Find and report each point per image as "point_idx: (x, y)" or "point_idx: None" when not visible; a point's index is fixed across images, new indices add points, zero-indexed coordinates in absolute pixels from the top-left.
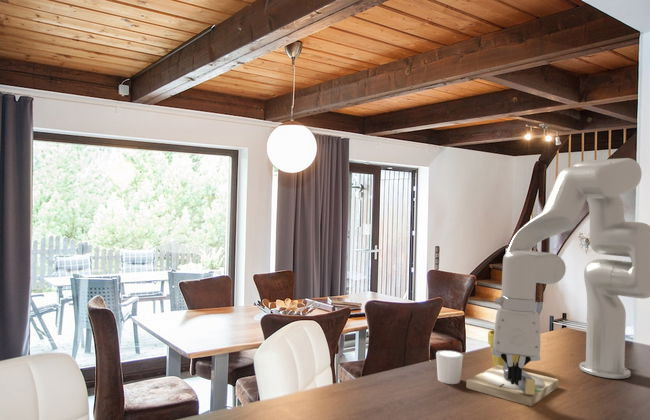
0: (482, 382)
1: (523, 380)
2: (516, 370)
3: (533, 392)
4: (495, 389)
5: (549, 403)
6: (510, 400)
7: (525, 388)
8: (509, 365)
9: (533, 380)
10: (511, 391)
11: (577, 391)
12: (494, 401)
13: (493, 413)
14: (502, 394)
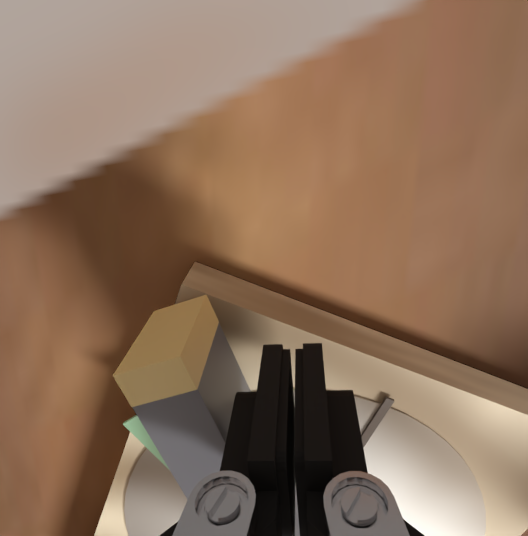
0: (499, 437)
1: (222, 404)
2: (279, 439)
3: (158, 316)
4: (415, 367)
5: (102, 347)
6: (314, 307)
7: (212, 336)
8: (365, 489)
9: (126, 369)
10: None
11: (7, 533)
12: (416, 255)
13: (448, 6)
14: (366, 338)
